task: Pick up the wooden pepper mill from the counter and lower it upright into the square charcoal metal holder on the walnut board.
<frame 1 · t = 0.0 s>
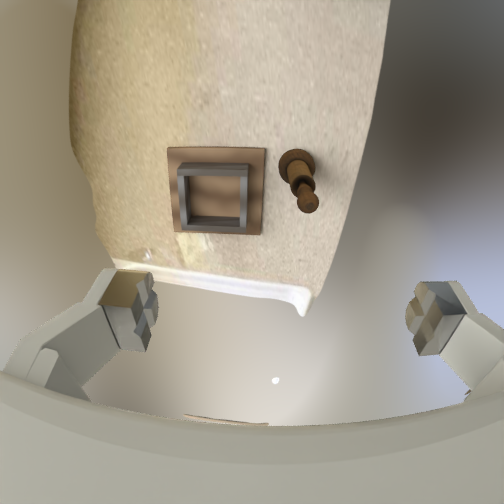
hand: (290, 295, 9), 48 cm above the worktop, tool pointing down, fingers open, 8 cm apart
holder board: (216, 191, 58), on the worktop
wooden pepper mill: (295, 164, 55), on the worktop
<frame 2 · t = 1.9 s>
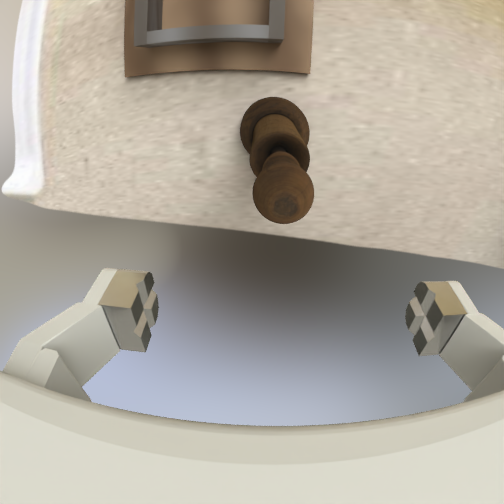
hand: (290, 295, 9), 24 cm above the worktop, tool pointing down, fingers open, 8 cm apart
wooden pepper mill: (274, 128, 29), on the worktop
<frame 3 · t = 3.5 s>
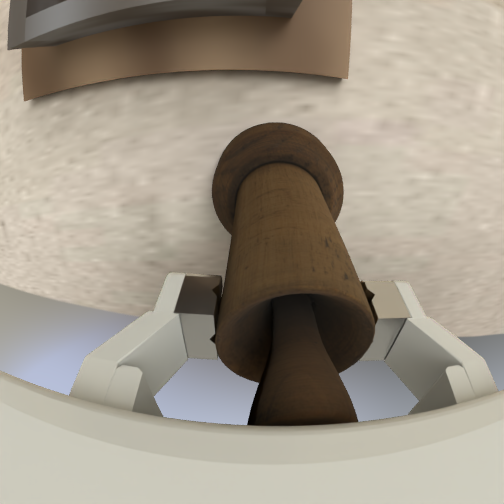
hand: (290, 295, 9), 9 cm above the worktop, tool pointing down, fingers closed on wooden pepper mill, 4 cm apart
wooden pepper mill: (276, 179, 16), on the worktop, touching gripper
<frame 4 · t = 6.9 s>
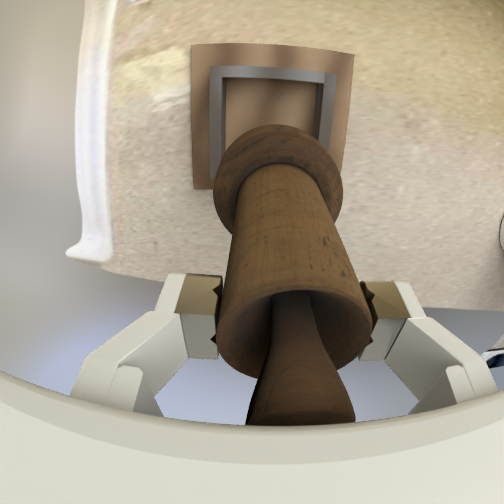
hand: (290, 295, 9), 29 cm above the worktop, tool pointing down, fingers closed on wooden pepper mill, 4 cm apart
holder board: (269, 118, 33), on the worktop
wooden pepper mill: (277, 180, 17), point 20 cm above the worktop, touching gripper
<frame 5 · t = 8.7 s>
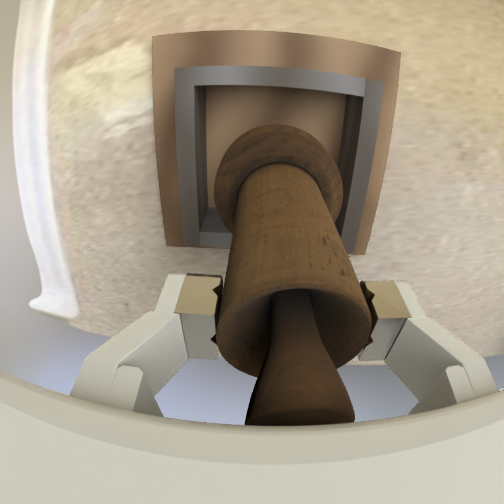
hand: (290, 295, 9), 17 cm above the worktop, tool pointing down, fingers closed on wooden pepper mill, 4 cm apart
holder board: (273, 146, 22), on the worktop
wooden pepper mill: (277, 180, 17), point 7 cm above the worktop, touching gripper
when the fingers open (12 cm above the worktop, at t = 10.0 s): wooden pepper mill drops 1 cm, resting on holder board.
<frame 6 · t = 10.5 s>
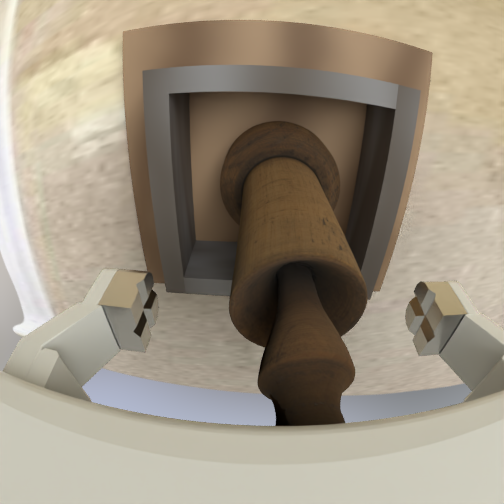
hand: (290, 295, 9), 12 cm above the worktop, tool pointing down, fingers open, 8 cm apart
holder board: (274, 166, 18), on the worktop
wooden pepper mill: (278, 173, 18), point 1 cm above the worktop, touching holder board
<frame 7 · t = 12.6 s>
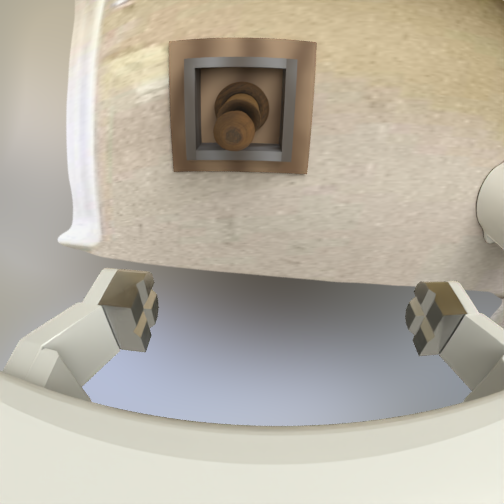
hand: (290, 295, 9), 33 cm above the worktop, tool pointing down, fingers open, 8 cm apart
holder board: (241, 104, 35), on the worktop
wooden pepper mill: (242, 106, 35), point 1 cm above the worktop, touching holder board
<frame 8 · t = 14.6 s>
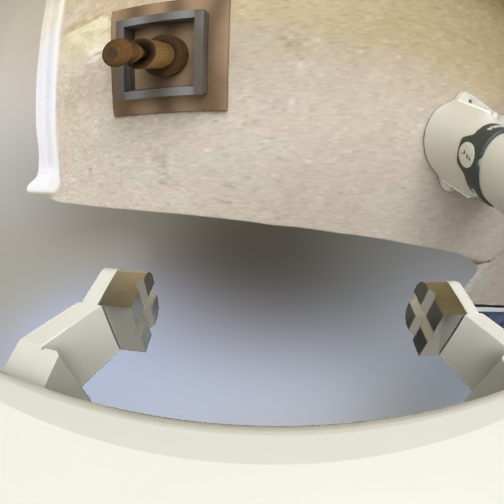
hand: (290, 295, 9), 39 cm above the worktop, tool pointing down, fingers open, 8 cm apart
holder board: (167, 55, 36), on the worktop
wooden pepper mill: (167, 56, 36), point 1 cm above the worktop, touching holder board
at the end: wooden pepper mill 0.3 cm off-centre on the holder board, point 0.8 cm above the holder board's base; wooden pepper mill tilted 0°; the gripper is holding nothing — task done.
